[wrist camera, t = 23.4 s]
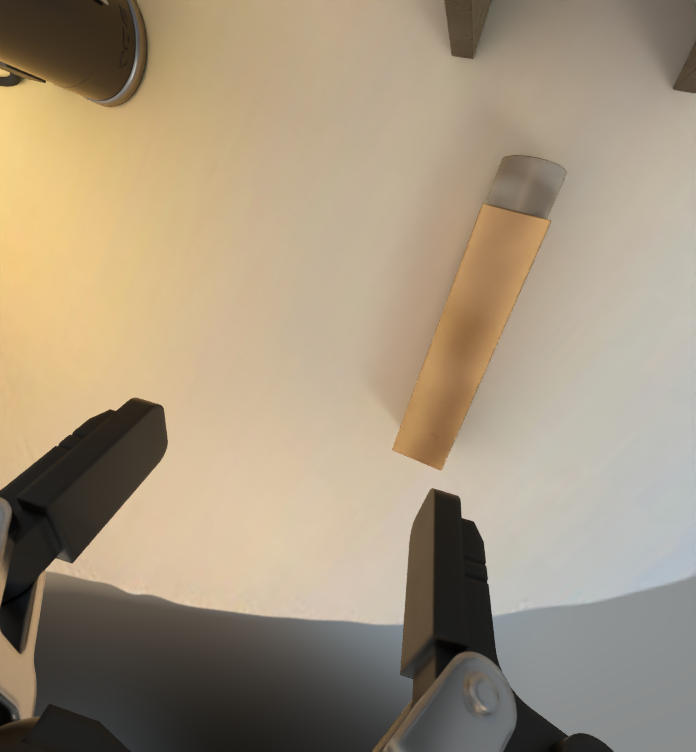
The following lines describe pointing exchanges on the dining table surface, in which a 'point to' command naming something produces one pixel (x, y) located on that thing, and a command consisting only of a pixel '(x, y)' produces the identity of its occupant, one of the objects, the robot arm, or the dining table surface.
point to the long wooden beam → (479, 304)
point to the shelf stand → (467, 19)
